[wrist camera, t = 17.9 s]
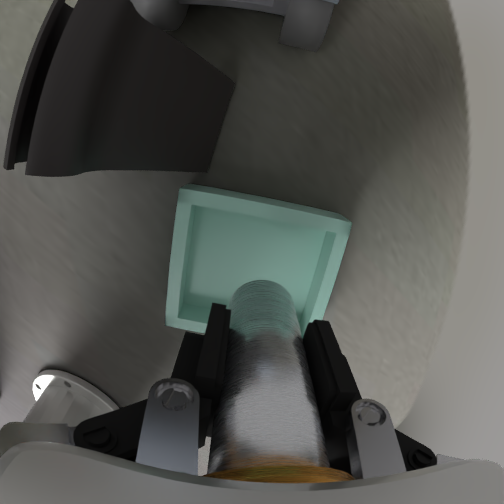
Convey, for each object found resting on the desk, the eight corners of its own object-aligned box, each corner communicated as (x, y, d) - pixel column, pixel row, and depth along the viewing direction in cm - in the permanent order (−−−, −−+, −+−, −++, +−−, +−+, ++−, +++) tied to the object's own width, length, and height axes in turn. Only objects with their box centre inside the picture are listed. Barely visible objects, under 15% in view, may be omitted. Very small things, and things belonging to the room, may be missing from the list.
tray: (305, 328, 22) (311, 349, 19) (173, 306, 21) (164, 325, 19) (339, 213, 19) (352, 222, 16) (188, 183, 18) (179, 188, 16)
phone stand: (236, 84, 16) (218, -13, 5) (207, 173, 18) (142, 208, 7) (111, 63, 15) (-6, 6, 4) (87, 144, 17) (-50, 156, 6)
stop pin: (291, 348, 14) (322, 544, 5) (212, 336, 14) (177, 539, 5) (315, 277, 13) (399, 496, 3) (224, 261, 13) (177, 500, 3)
